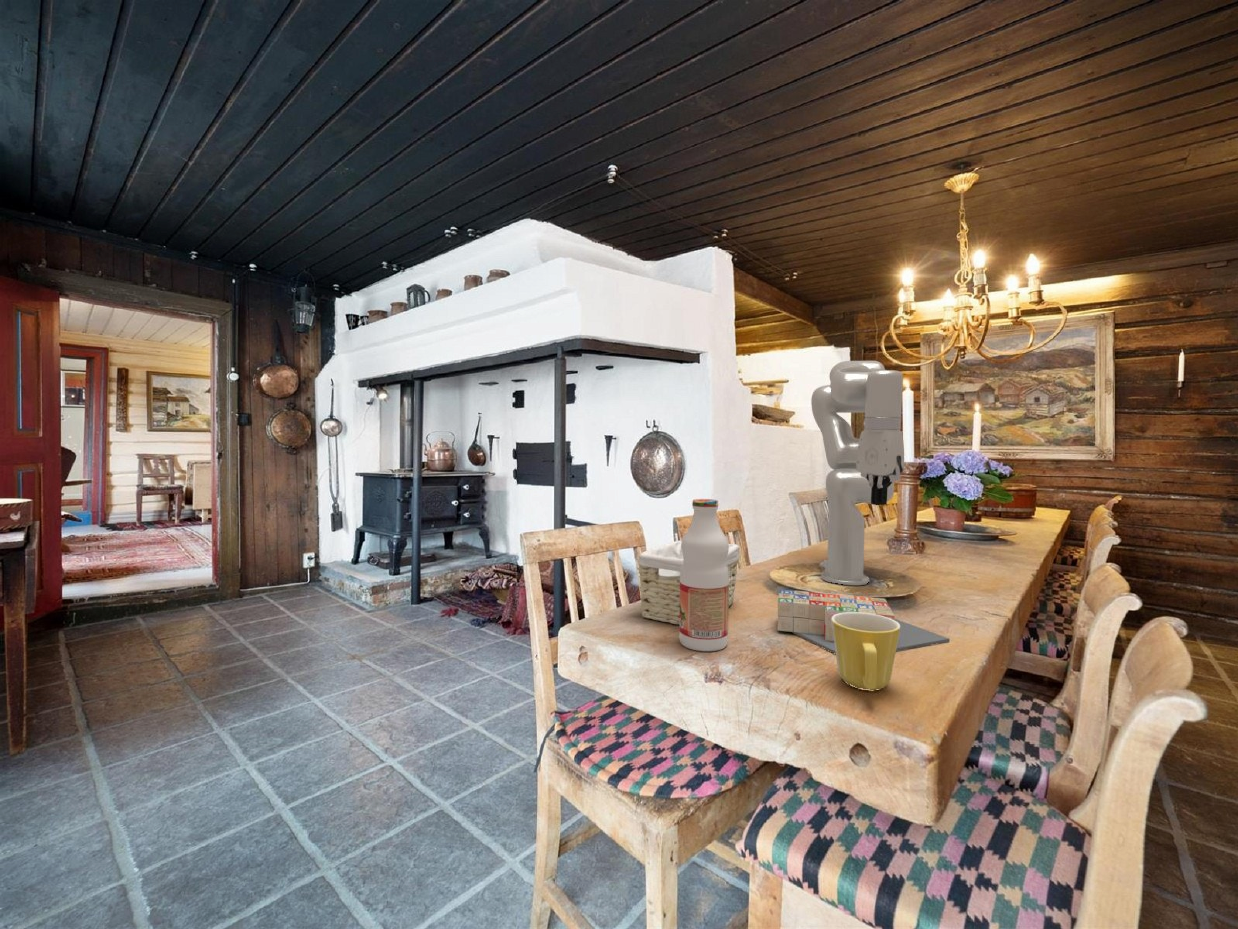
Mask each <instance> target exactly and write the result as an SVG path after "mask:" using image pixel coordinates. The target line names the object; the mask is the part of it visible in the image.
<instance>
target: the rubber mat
mask: <svg viewBox="0 0 1238 929" xmlns="http://www.w3.org/2000/svg"><path fill="white" fill-rule="evenodd" d="M894 620H895V621H896V622H898V623H899V624H900V632H899V638H898V644H897V649H896V652H898V651H897V650H901V651H906V650H905V649H907V650H910V649H909V648H912V649H914V648H913V647H918V648H922V646H923V647H927V646H928V645H929V646H932V645H931V644H934V645H937V644H936V643H940V644H944V643H945V644H946V643H949V641H950V638H948V637H946V636H943V635H941V634H937V633H935V632H933V631H930V630H927V629H925V628H923V627H919V626H917V625H913V624H911V623H908V622H905V621H902V620H900V619H898V618H895V617H894ZM792 634H794V635H795V636H797V637H800V638H801V639H804V640H806V641H807V640H808V641H807V642H808V643H811V644H813V643H814V644H813V645H815V644H816V645H815V646H817V645H818V647H819V646H820V647H819V648H821V647H823V648H825V649H826V651H827V650H829V651H831V652H833V653H835V654H836V652H835V645H834V641H826V640H825V635H815V634H806V633H796V632H792ZM926 645H927V646H926ZM823 648H822V649H823ZM825 649H824V650H825ZM829 651H828V652H829ZM831 652H830V653H831ZM833 653H832V654H833ZM835 654H834V655H835Z"/></svg>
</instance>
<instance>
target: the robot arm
mask: <svg viewBox="0 0 1238 929" xmlns="http://www.w3.org/2000/svg"><path fill="white" fill-rule="evenodd" d="M885 368H886V367H885V366H884V364H882V363H881V362H880V361H877V360H845V361H840V362H839V363H836V364H835V365H834V366H833V367H832V368H831V369H830V372H829V381H830V384H827V385H821V386H818V387H817V388H816V389H814V390H813V392H812V395H811V398H810V399H811V400H810V402H811V404H810V405H811V411H812V415H813V419H814V421H815V423H816V425H817V428H818V429H819V431H820V432H821V435H822V442H823V445H824V452H825V458H826V461H827V464H828V466H829V468H830V469H832V470H831V471H830V472H829V473H827V475H826V477H825V489H826V491H825V492H826V496H827V498H826V499H827V507H828V508H827V509H828V510H827V512H828V513H827V514H828V517H827V519H828V520H827V558H826V559H824V560H823V561H820V562H819V567H820V568H824V571H823V572H822V573H821V574H820V578H821V580H823V581H825V582H828V583H831V582H832V584H835V583H838V584H837V585H841V584H843V585H842V586H863V585H868V584H869V583H870V578H869V576H867V575H865V574H864V562H865V561H864V560H865V525H866V520H865V517H864V514H863V513H862V512H861V510H860V509H859V508H858V507H857V505H856V504H859V503H864V504H865V503H866V504H867V503H869V504H871V505H874V506H886V505H887V504H888V502H889V501H890V500H892V498H893V497H894V494H895V482H896V483H897V482H901V480H902V474H903V472H904V469H905V468H904V467H905V445H904V444H905V443H904V436H903V432H902V431H901V425H902V404H903V403H902V402H903V401H902V400H903V382H904V376H903V374H902V372H900V371H899V370H892V369H890V370H888V369H885ZM838 413H839V414H841V413H843V414H847V413H849V414H855V413H857V414H858V413H859V414H861V413H864V420H863V421H862V422H863V423H862V424H863V426H864V427H863V430H862V431H861V432H860V435H859V438H857V437H854V433H853V428H852V426H851V425H850V423H849V422H848V421H846V419H845V418H844V417H843V416H840V415H839V414H838ZM868 582H869V583H868ZM867 583H868V584H867Z"/></svg>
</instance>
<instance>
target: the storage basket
mask: <svg viewBox="0 0 1238 929" xmlns="http://www.w3.org/2000/svg"><path fill="white" fill-rule="evenodd" d="M681 542H682V539H681V540H676V541H672V542H668V543H666V544H663V545H660V546H657V547H654V548H650V549H647V550H645V551H643V552H641V553H640V554H639V555H638V561H637V562H638V564H637V565H638V574H639V583H640V584H639V585H640V586H639V589H640V590H639V591H640V605H641V606H640V607H641V608H640V609H641V612H640V614H641V616H642V617H643V618H646V619H652V620H654V621H661V622H663V623H670V624H673V625H679V617H680V570H681V566H682V563H683V555H682V551H681ZM728 544H729V551H728V555H727V558H726V565H727V567H728V571H729V607H730V606H731V605H733V604H734V597H735V594H734V593H735V590H736V584H737V582H736V581H737V573H738V572H737V571H738V564H739V560H740V545H738V544H735V543H728Z"/></svg>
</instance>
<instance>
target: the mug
mask: <svg viewBox="0 0 1238 929" xmlns="http://www.w3.org/2000/svg"><path fill="white" fill-rule="evenodd" d="M831 623H832V631H833V638H834V645H835V652H836V655H835V657H836V668H837V672H838V674H839V676H840V677H841V679H842V680H843V681H844V682H845V683H846V682H847V683H848V684H851V685H853V686H855V687H857V688H863V689H870V690H876V689H881V688H883V689H884V688H885V687H886V686H888V685H889V683H890V682H891V680H892V675H893V674H892V673H893V668H894V663H895V657H896V653H897V651H896V649H897V644H898V638H899V632H900V624H899V623H898V622H896V621H895V620H892V619H890V618H887V617H884V616H880V615H876V614H870V613H862V612H844V613H838V614H835V615H834V616H832V618H831ZM848 684H847V685H848ZM881 690H882V689H881Z"/></svg>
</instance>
